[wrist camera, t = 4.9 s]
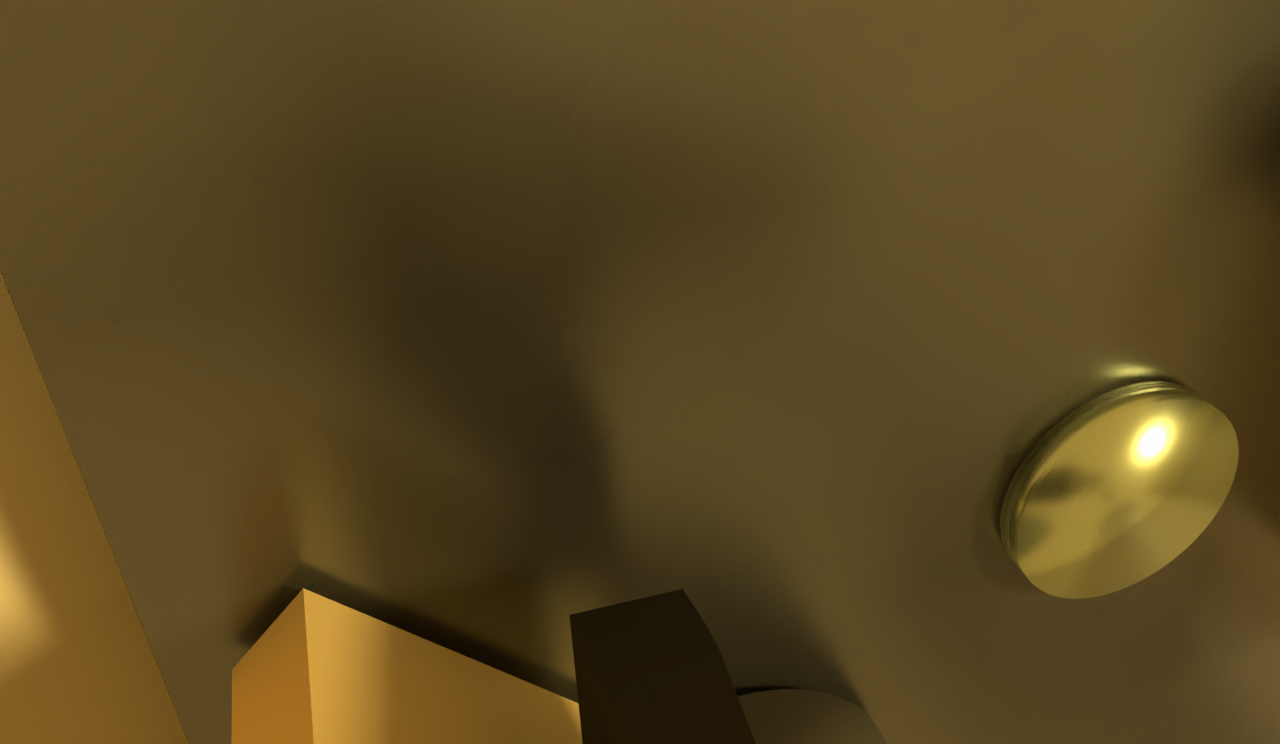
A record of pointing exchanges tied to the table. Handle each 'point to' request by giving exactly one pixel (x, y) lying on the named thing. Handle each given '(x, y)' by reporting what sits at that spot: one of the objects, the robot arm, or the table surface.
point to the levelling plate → (679, 337)
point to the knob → (445, 692)
